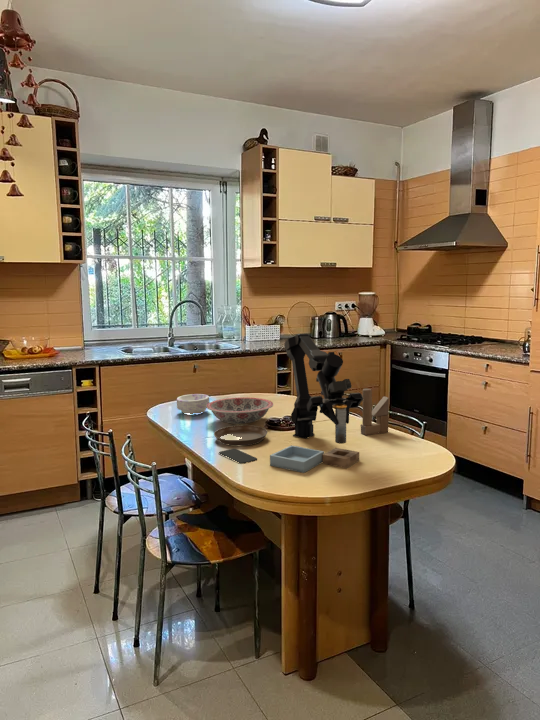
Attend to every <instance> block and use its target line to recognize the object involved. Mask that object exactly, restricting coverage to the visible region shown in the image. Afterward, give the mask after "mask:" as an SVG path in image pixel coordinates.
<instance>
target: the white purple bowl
mask: <svg viewBox="0 0 540 720" xmlns="http://www.w3.org/2000/svg"><path fill="white" fill-rule="evenodd" d="M208 403H210V396H209V395H208V394H203V393H194V394H193V393H191V394H183V395H181V396H177V398H176V409H177V410H179V411H181V413H182V412H183V413H190V414H193V413H201V412H204V411H205V412H206V410H207V407H206V406H207V404H208ZM205 412H204V413H205ZM183 413H182V414H183Z"/></svg>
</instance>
